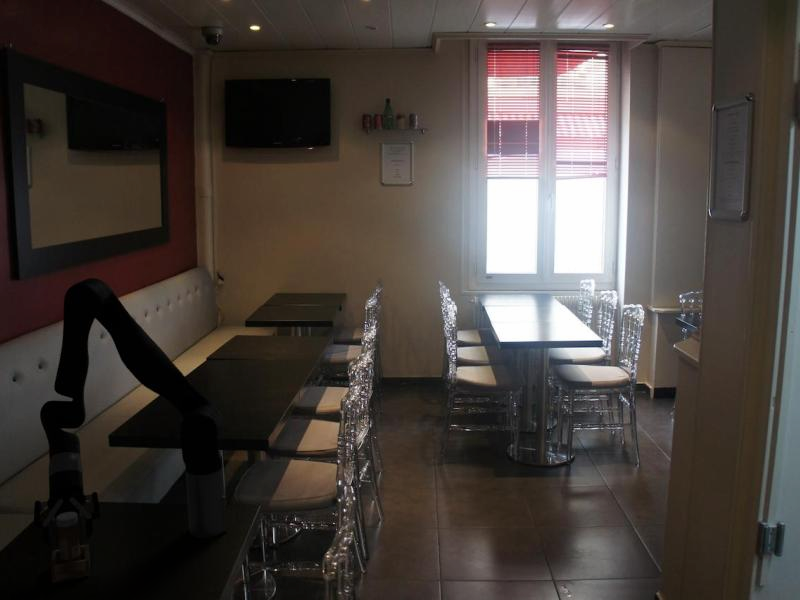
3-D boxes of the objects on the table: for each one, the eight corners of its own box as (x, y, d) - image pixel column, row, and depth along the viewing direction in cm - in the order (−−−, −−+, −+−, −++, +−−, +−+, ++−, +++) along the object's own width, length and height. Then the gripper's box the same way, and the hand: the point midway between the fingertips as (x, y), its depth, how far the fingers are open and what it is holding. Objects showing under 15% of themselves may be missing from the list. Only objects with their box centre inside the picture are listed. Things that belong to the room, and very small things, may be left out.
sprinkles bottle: (83, 569, 176) (79, 516, 174) (63, 575, 174) (57, 521, 171) (79, 561, 180) (75, 509, 177) (59, 566, 178) (54, 514, 175)
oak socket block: (90, 559, 182) (88, 544, 181) (90, 576, 175) (88, 560, 174) (53, 565, 179) (52, 550, 178) (52, 583, 172) (50, 567, 171)
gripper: (31, 473, 177) (32, 541, 168) (96, 464, 182) (100, 529, 174) (35, 485, 183) (36, 551, 174) (98, 476, 188) (102, 540, 180)
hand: (68, 540), depth 174 cm, fingers open, 8 cm apart
